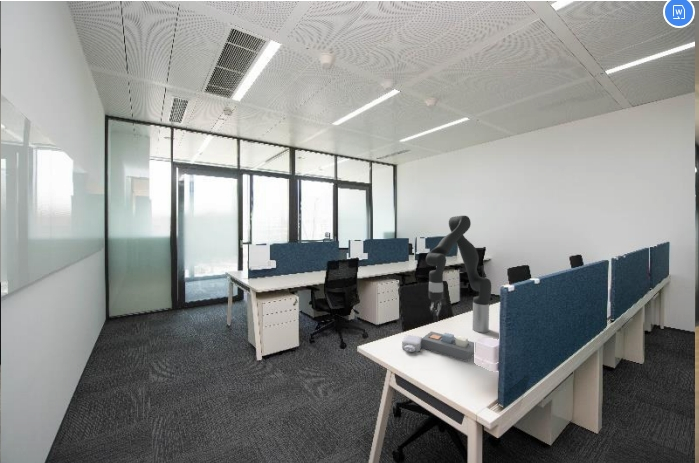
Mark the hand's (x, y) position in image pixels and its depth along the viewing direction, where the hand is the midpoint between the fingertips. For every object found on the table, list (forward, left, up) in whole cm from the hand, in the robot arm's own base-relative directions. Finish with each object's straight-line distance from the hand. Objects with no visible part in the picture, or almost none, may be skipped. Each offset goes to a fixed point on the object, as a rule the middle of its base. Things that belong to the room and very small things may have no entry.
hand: (435, 321), depth 155 cm
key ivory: (0, +14, -11) cm, 17 cm away
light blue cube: (0, +7, -11) cm, 13 cm away
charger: (+11, -9, -14) cm, 20 cm away
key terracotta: (0, 0, -13) cm, 13 cm away
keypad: (0, +7, -14) cm, 15 cm away
